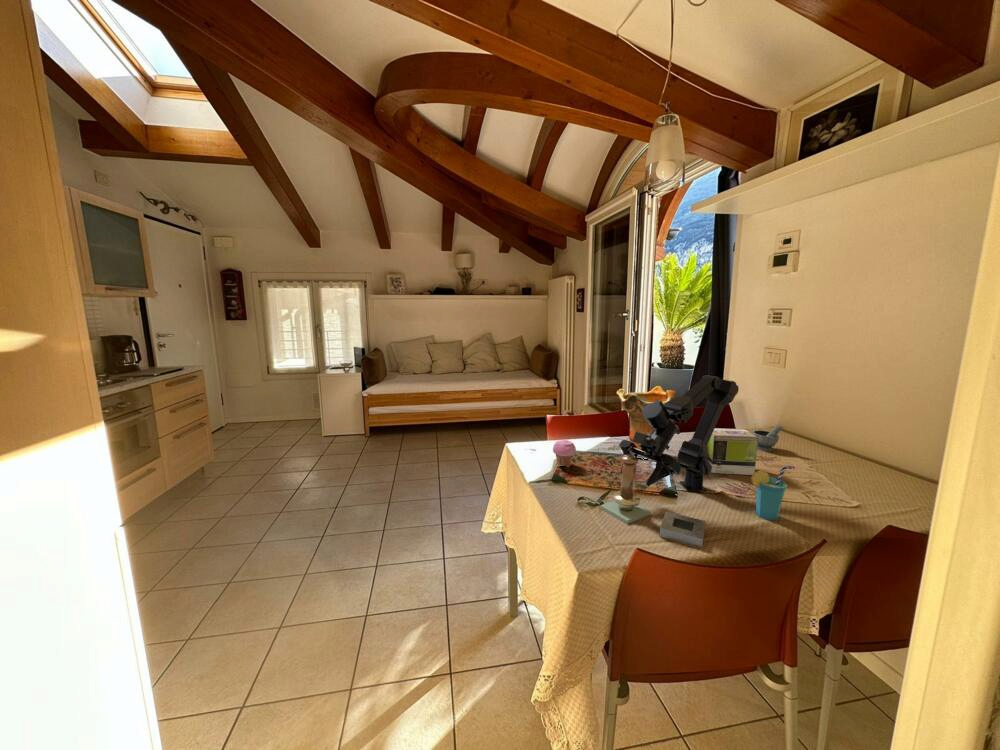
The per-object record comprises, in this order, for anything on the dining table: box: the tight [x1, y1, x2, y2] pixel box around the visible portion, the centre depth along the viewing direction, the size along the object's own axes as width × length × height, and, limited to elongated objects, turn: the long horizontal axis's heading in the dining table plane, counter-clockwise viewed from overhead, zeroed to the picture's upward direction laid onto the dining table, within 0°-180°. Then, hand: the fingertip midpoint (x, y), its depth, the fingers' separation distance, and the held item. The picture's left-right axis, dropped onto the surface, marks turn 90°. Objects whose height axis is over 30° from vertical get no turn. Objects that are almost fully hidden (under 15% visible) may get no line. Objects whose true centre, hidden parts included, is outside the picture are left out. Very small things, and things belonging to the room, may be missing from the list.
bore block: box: [658, 511, 706, 549], centre depth 107 cm, size 10×10×3 cm
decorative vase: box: [616, 385, 677, 455], centre depth 165 cm, size 21×23×28 cm
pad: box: [599, 500, 652, 525], centre depth 118 cm, size 10×10×2 cm
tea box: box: [707, 427, 758, 476], centre depth 150 cm, size 15×10×15 cm
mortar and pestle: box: [751, 424, 784, 453], centre depth 171 cm, size 11×9×12 cm
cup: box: [750, 465, 795, 522], centre depth 116 cm, size 14×8×15 cm, turn 107°
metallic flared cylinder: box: [612, 455, 641, 512], centre depth 117 cm, size 8×8×16 cm
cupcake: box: [552, 439, 577, 467], centre depth 152 cm, size 9×9×10 cm
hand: (633, 479), depth 118 cm, fingers open, 9 cm apart
